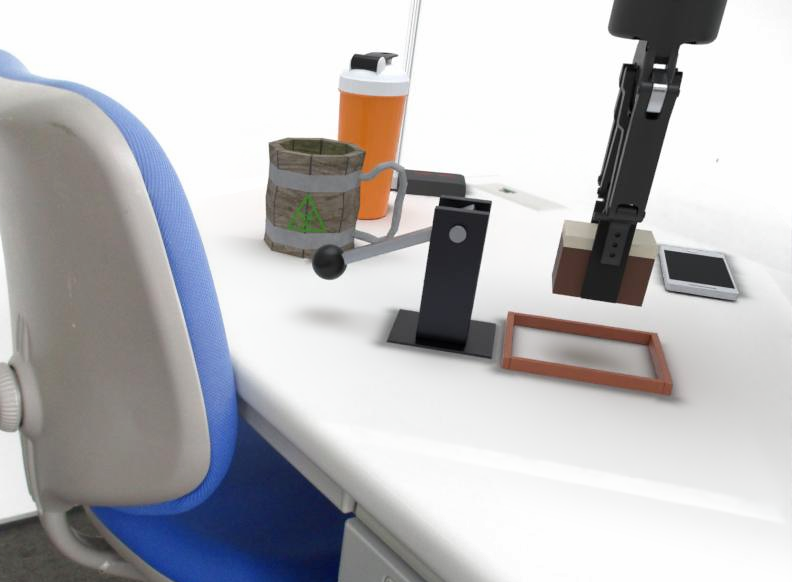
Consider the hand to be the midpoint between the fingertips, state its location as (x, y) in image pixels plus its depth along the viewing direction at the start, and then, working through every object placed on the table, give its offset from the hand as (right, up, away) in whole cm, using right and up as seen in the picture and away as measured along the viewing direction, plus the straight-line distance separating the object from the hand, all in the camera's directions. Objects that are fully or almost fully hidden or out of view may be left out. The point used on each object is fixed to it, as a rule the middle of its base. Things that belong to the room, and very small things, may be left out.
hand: (596, 287), depth 73 cm
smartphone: (+22, +5, +27) cm, 36 cm away
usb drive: (-3, +22, +57) cm, 61 cm away
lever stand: (-12, -4, +6) cm, 14 cm away
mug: (-20, +7, +28) cm, 35 cm away
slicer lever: (-16, +3, +4) cm, 17 cm away
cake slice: (0, 0, 0) cm, 0 cm away
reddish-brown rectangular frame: (0, -6, +3) cm, 7 cm away
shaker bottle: (-14, +16, +45) cm, 50 cm away
